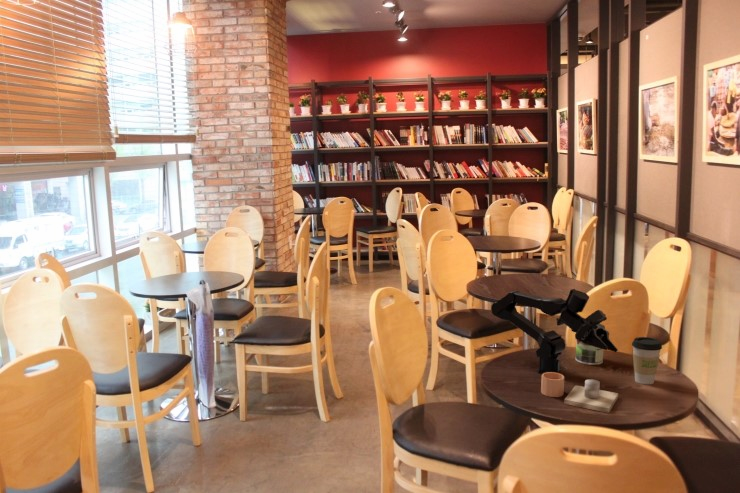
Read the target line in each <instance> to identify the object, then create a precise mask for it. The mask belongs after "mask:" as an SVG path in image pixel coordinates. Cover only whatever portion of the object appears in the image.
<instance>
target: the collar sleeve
mask: <svg viewBox="0 0 740 493" xmlns="http://www.w3.org/2000/svg"><path fill="white" fill-rule="evenodd" d="M540 380H541V381H540V382H541V384H540V386H541V387H540V392H541V394H542V395H544V396H546V397H550V398H559V397H562V396H564V392H565V391H564V390H565V376H564V375H563V374H562V373H559V372H558V373H555V372H546V373H541V379H540Z"/></svg>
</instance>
